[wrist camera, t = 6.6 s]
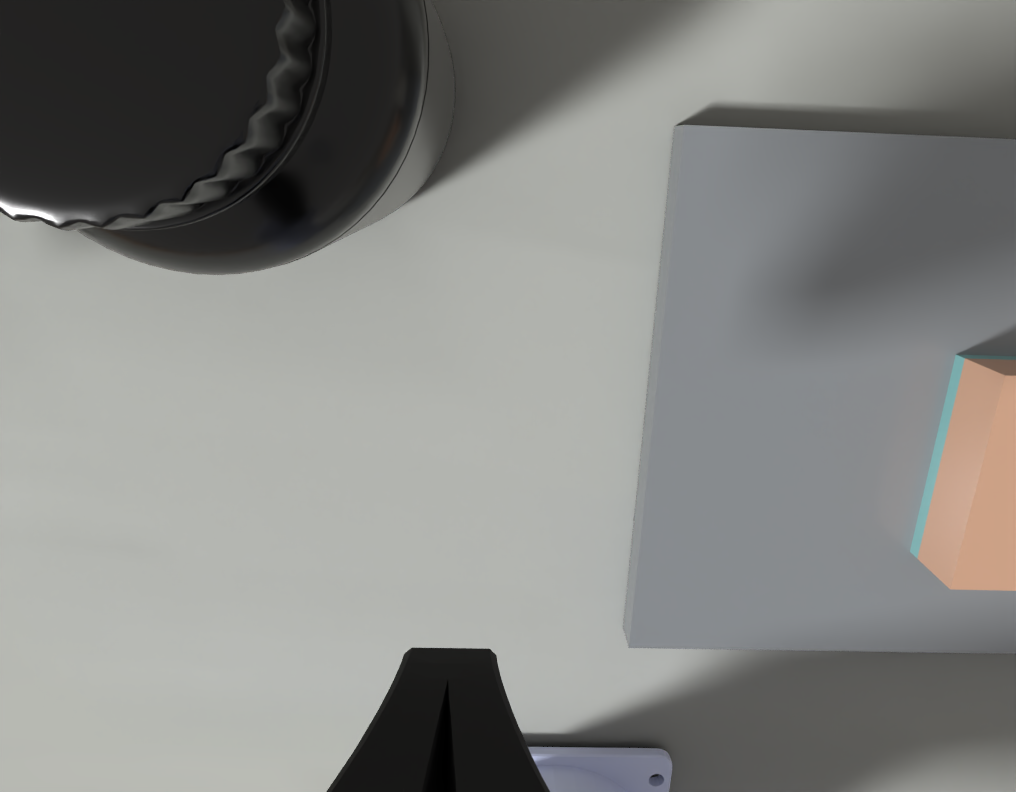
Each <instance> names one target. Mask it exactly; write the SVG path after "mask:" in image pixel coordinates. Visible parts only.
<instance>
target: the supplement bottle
mask: <svg viewBox="0 0 1016 792" xmlns="http://www.w3.org/2000/svg"><path fill="white" fill-rule="evenodd" d="M454 105H455V79H454V69H453V63H452V57H451V53H450V49H449V45H448V42H447V38H446V35H445V32H444V29H443V27H442V24H441V21H440V19H439V16H438V14H437V11H436V9H435V7H434V4H433V2H432V0H0V212H2V213H3V214H5V215H6V216H8V217H10V218H11V219H13V220H15V221H19V222H35V221H43V222H45V223H46V224H48V225H50V226H53V227H56V228H58V229H61V230H66V231H71V230H77V231H78V232H80V233H81V234H83V235H84V236H86V237H87V238H89V239H91V240H93V241H95V242H96V243H98V244H100V245H102V246H104V247H106V248H107V249H110V250H112V251H114V252H116V253H119V254H121V255H123V256H126V257H128V258H130V259H133V260H136V261H139V262H142V263H145V264H148V265H152V266H156V267H160V268H164V269H168V270H173V271H178V272H185V273H192V274H207V275H226V274H241V273H247V272H254V271H260V270H264V269H268V268H272V267H276V266H280V265H283V264H287V263H290V262H292V261H295V260H298V259H300V258H303V257H306V256H308V255H310V254H312V253H314V252H316V251H318V250H320V249H322V248H324V247H326V246H328V245H331V244H333V243H335V242H337V241H339V240H341V239H343V238H345V237H347V236H349V235H351V234H353V233H355V232H357V231H359V230H361V229H363V228H365V227H367V226H369V225H371V224H373V223H375V222H377V221H379V220H381V219H383V218H384V217H386V216H388V215H389V214H391V213H392V212H394V211H395V210H397V209H398V208H400V207H401V206H402V205H403V204H405V203H406V202H407V201H408V200H409V199H410V198H411V197H412V196H413V195H414V194H416V193H417V192H418V190H419V189H420V188H421V187H422V186H423V184H424V183H425V182H426V181H427V179H428V178H429V176H430V175H431V173H432V172H433V170H434V169H435V167H436V165H437V163H438V161H439V160H440V158H441V155H442V153H443V151H444V148H445V146H446V143H447V140H448V136H449V133H450V129H451V125H452V120H453V114H454Z"/></svg>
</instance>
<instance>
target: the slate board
mask: <svg viewBox="0 0 1016 792" xmlns="http://www.w3.org/2000/svg"><path fill="white" fill-rule="evenodd" d="M956 355H988V356H1016V139H1001V138H978V137H955V136H932V135H909V134H885V133H862V132H839V131H816V130H793V129H770V128H747V127H724V126H701V125H679V126H674V133H673V143H672V153H671V163H670V172H669V182H668V192H667V202H666V212H665V221H664V231H663V241H662V251H661V261H660V270H659V280H658V290H657V300H656V310H655V319H654V329H653V339H652V349H651V359H650V368H649V378H648V388H647V398H646V408H645V417H644V427H643V437H642V447H641V457H640V466H639V476H638V486H637V496H636V506H635V515H634V525H633V535H632V545H631V555H630V564H629V574H628V584H627V594H626V604H625V613H624V623H623V630H624V633H625V636H626V640H627V643H628V647H629V648H673V649H736V650H798V651H860V652H922V653H985V654H1016V591H1003V590H951V589H949V588H948V587H947V586H946V585H945V584H944V583H943V582H942V581H941V580H940V579H938V578H937V577H936V576H935V575H934V574H933V573H932V572H931V571H930V570H929V569H928V568H927V567H926V566H925V565H924V564H922V563H921V562H920V561H919V560H918V559H917V558H916V557H915V556H914V555H913V554H912V553H911V552H910V549H911V544H912V540H913V536H914V531H915V527H916V523H917V519H918V514H919V510H920V506H921V501H922V497H923V493H924V489H925V484H926V480H927V476H928V471H929V467H930V463H931V459H932V454H933V450H934V446H935V441H936V437H937V433H938V428H939V424H940V420H941V416H942V411H943V407H944V403H945V398H946V394H947V390H948V386H949V381H950V377H951V373H952V368H953V364H954V360H955V356H956Z"/></svg>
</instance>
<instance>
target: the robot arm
mask: <svg viewBox="0 0 1016 792" xmlns="http://www.w3.org/2000/svg"><path fill="white" fill-rule="evenodd" d="M672 768H673V767H672V761H671V758H670V755H669V754H668V752H667V751H665V750H663V749H659V748H590V747H528V746H527V744H526V742H525V740H524V738H523V735H522V733H521V731H520V729H519V727H518V724H517V722H516V719H515V717H514V714H513V712H512V709H511V706H510V704H509V701H508V698H507V695H506V693H505V689H504V686H503V683H502V680H501V676H500V672H499V668H498V664H497V657H496V655H495V654H494V653H493V652H492V651H491V650H490V649H466V648H411V649H410V650H408V651H407V652H406V653H405V654H404V656H403V659H402V662H401V665H400V667H399V669H398V672H397V674H396V676H395V679H394V681H393V683H392V685H391V687H390V689H389V691H388V693H387V695H386V697H385V699H384V700H383V702H382V704H381V706H380V708H379V710H378V712H377V713H376V715H375V717H374V718H373V720H372V722H371V724H370V725H369V727H368V729H367V730H366V732H365V734H364V735H363V737H362V739H361V740H360V742H359V744H358V746H357V747H356V749H355V750H354V752H353V753H352V755H351V757H350V758H349V759H348V761H347V762H346V764H345V765H344V767H343V768H342V770H341V771H340V773H339V774H338V776H337V777H336V779H335V780H334V782H333V783H332V784H331V786H330V787H329V789H328V790H327V792H669V790H670V782H671V775H672ZM654 774H660V775H658V776H656V777H651V776H652V775H654Z"/></svg>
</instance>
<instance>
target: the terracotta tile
mask: <svg viewBox="0 0 1016 792" xmlns="http://www.w3.org/2000/svg"><path fill="white" fill-rule="evenodd" d="M910 552H911V553H912V554H913V555H914V556H915V557H916V558H917V559H918V560H919V561H920V562H921V563H922V564H924V565H925V566H926V567H927V568H928V569H929V570H930V571H931V572H932V573H933V574H934V575H935V576H936V577H937V578H938V579H940V580H941V581H942V582H943V583H944V584H945V585H946V586H947V587H948V588H949V589H951V590H1003V591H1016V356H988V355H956V356H955V360H954V364H953V368H952V373H951V377H950V381H949V386H948V390H947V394H946V398H945V403H944V407H943V411H942V416H941V420H940V424H939V428H938V433H937V437H936V441H935V446H934V450H933V454H932V459H931V463H930V467H929V471H928V476H927V480H926V484H925V489H924V493H923V497H922V501H921V506H920V510H919V514H918V519H917V523H916V527H915V531H914V536H913V540H912V544H911V549H910Z"/></svg>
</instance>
